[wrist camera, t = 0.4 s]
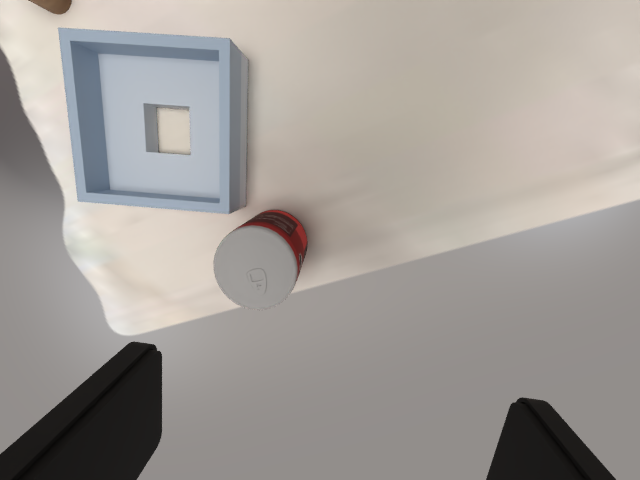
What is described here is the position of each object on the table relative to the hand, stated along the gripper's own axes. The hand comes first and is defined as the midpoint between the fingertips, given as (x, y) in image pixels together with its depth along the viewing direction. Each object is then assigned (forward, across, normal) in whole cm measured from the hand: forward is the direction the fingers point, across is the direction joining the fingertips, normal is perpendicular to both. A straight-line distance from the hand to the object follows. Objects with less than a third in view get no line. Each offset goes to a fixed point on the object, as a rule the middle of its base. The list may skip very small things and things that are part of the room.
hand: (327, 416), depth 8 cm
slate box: (+30, +19, -8) cm, 37 cm away
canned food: (+31, +7, +4) cm, 31 cm away
